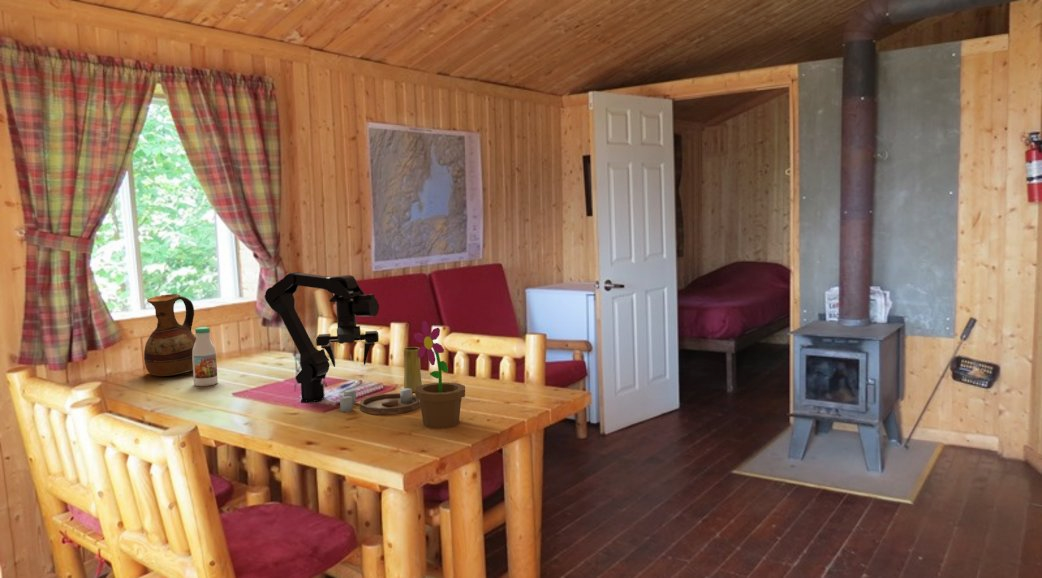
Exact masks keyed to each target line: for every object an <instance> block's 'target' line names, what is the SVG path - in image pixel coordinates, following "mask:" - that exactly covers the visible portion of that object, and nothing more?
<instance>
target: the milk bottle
mask: <svg viewBox="0 0 1042 578" xmlns="http://www.w3.org/2000/svg"><path fill="white" fill-rule="evenodd" d="M210 330H211V329H210V327H209V326H201V327H200V326H199V327H196V328H195V335H196V336H195V337H196V342H195V344H194V347H193V351H192V360H193V370H192V375H193V377H192V378H193V384H194V386H196V387H207V386H213V385H217V383H218V381H219V380H218V365H217V364H218V363H217V351H216V347H215V345H214V343H213V342H212V340H211V337H210V333H211V331H210Z"/></svg>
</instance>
